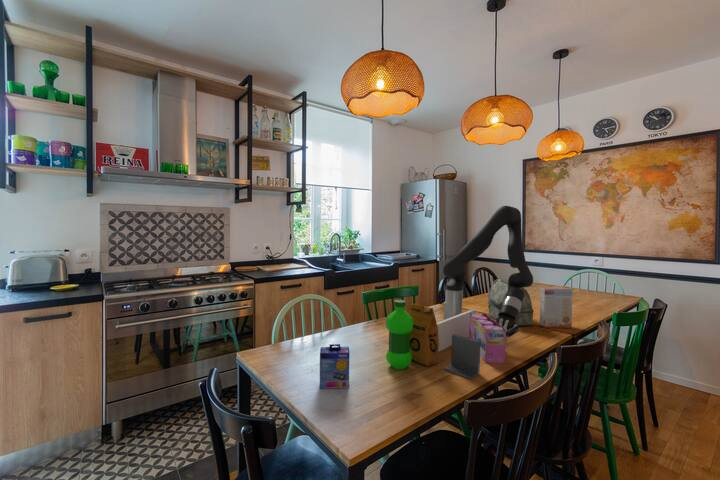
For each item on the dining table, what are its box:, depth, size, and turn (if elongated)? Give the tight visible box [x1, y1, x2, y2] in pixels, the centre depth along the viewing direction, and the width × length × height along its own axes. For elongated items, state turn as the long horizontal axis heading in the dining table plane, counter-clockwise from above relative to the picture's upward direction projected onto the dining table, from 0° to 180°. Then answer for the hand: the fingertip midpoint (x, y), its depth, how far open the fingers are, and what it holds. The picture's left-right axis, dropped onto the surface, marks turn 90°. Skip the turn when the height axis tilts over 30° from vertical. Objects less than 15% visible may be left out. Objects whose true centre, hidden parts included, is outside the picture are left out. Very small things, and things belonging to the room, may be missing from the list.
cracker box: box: [539, 286, 574, 329], centre depth 176 cm, size 14×6×21 cm, turn 84°
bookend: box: [443, 334, 481, 380], centre depth 121 cm, size 10×6×12 cm, turn 45°
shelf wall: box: [437, 308, 477, 353], centre depth 150 cm, size 2×40×12 cm, turn 135°
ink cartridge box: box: [319, 343, 350, 390], centre depth 111 cm, size 10×6×14 cm, turn 95°
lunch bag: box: [487, 278, 534, 327], centre depth 188 cm, size 26×18×22 cm
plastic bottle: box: [385, 299, 413, 370], centre depth 125 cm, size 10×10×25 cm
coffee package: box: [408, 302, 439, 367], centre depth 131 cm, size 10×12×22 cm
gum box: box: [468, 313, 507, 364], centre depth 141 cm, size 24×8×14 cm, turn 179°
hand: (498, 343), depth 139 cm, fingers closed
